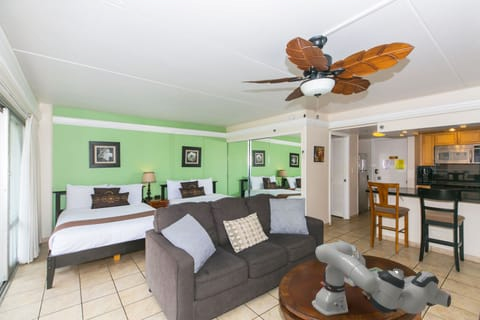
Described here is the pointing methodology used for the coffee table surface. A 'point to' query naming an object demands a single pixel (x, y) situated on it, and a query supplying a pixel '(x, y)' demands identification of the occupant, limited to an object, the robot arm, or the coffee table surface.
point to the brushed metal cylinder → (398, 272)
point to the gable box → (358, 257)
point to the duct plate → (375, 270)
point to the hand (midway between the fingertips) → (396, 277)
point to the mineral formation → (367, 294)
